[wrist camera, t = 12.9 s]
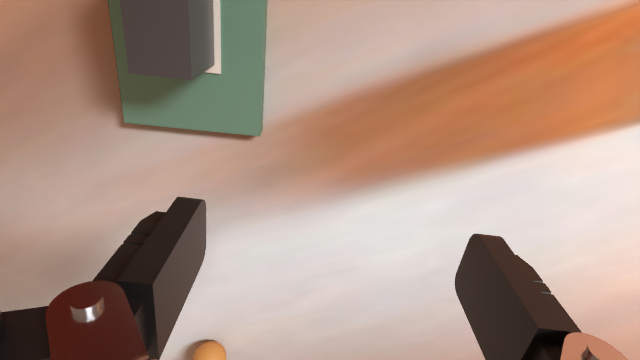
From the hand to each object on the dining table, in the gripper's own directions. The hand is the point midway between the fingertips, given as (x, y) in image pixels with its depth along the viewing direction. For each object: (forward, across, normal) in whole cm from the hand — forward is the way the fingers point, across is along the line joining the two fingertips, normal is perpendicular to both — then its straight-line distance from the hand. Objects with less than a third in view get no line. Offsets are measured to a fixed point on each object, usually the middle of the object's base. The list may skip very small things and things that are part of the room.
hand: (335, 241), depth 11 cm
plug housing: (+22, +12, -4) cm, 26 cm away
